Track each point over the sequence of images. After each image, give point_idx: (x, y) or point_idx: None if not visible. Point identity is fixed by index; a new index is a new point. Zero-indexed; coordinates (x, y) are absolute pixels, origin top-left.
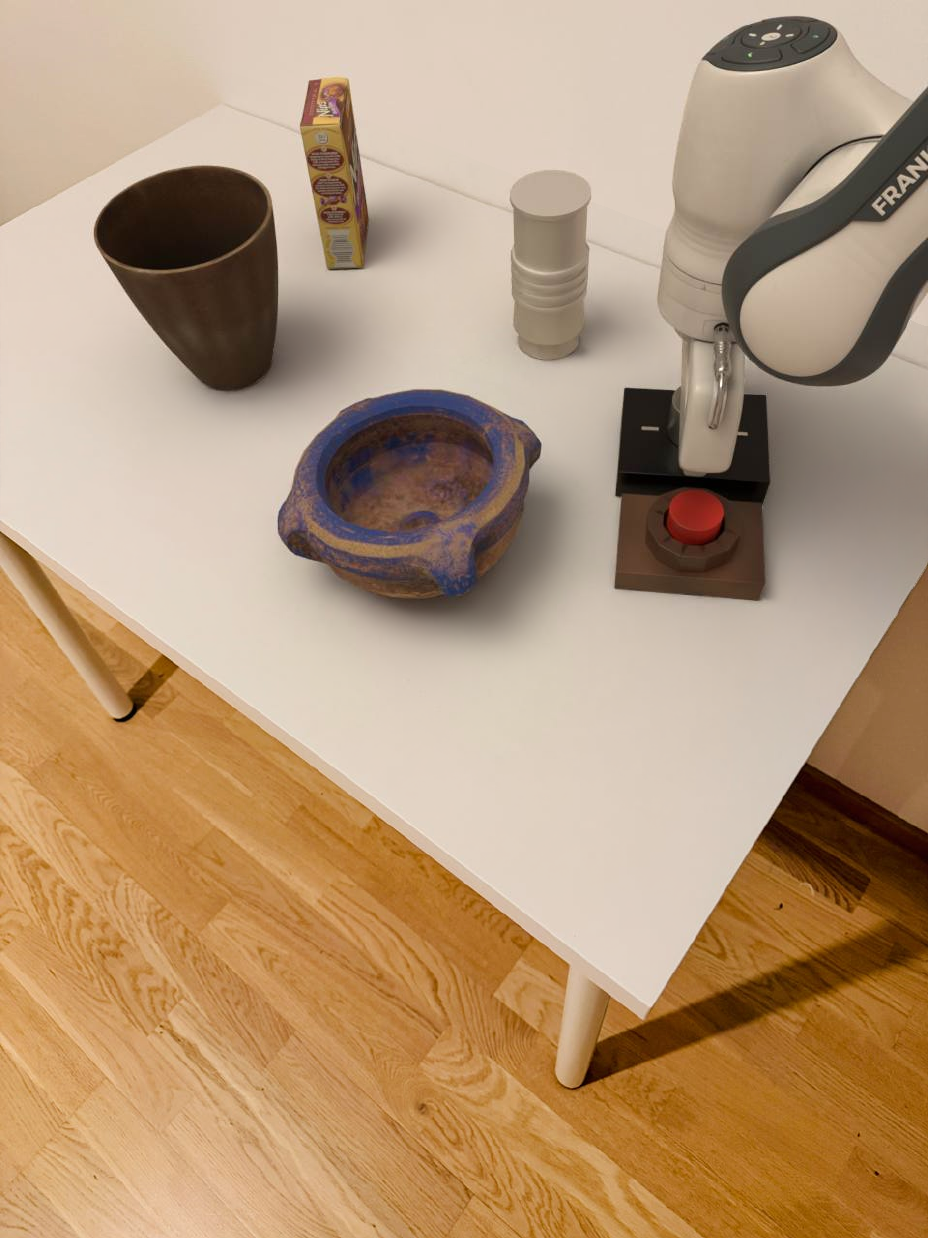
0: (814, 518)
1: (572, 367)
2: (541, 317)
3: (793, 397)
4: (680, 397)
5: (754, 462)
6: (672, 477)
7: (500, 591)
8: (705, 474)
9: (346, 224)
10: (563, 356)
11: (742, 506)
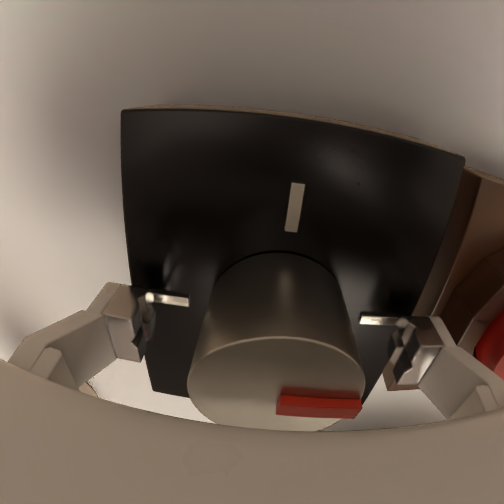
0: (453, 52)
1: (98, 378)
2: None
3: (90, 38)
4: (261, 427)
5: (405, 181)
6: None
7: None
8: (439, 317)
9: None
10: (85, 382)
11: (480, 220)
